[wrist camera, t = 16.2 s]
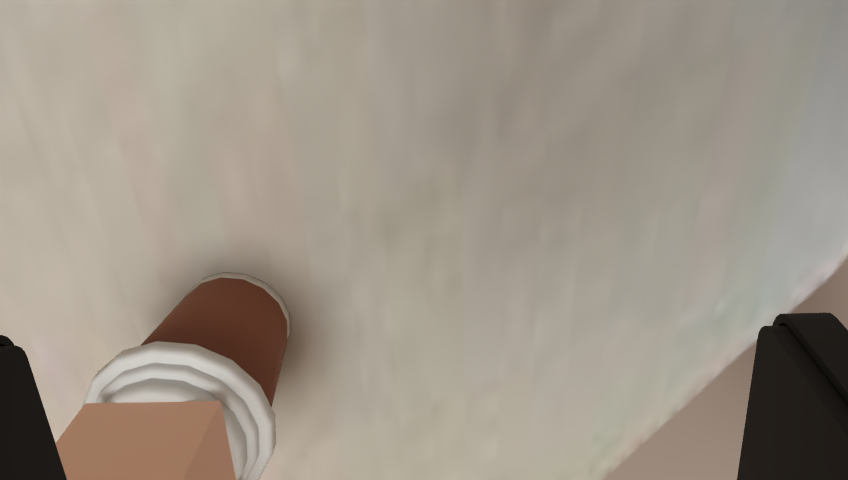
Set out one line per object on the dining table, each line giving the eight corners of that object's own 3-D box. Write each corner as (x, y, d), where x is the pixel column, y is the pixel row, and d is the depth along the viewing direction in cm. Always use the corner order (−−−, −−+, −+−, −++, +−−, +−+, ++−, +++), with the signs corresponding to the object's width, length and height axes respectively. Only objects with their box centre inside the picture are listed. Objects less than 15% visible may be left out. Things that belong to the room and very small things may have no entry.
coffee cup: (142, 259, 43) (34, 380, 32) (296, 243, 42) (239, 363, 31) (183, 389, 47) (98, 538, 36) (325, 377, 46) (283, 526, 35)
